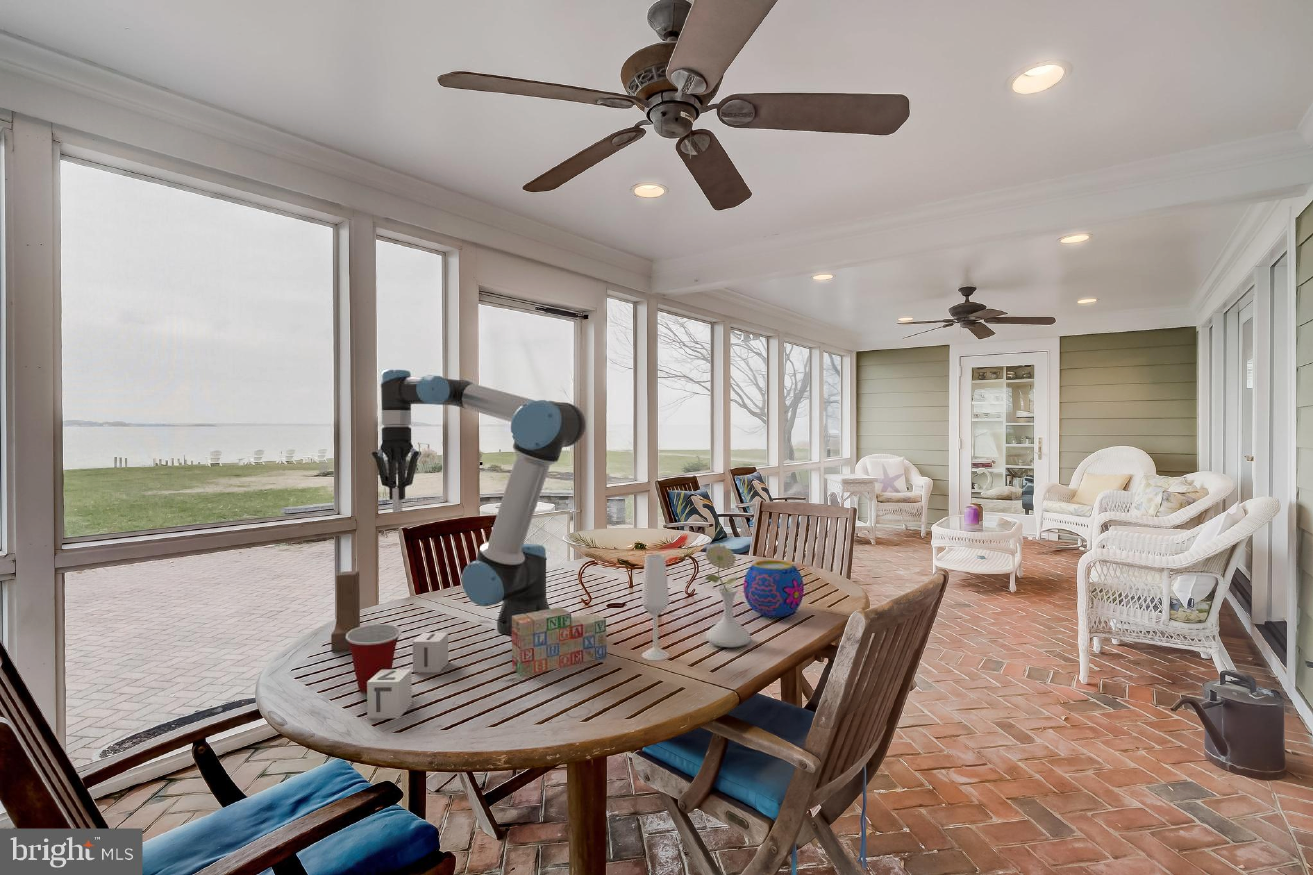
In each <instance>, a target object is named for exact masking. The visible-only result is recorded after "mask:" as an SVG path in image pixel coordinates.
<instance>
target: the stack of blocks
mask: <svg viewBox="0 0 1313 875" xmlns="http://www.w3.org/2000/svg"><path fill="white" fill-rule="evenodd" d="M510 636H511V653H512V654H511V655H512V658H511V660H512V661H511V662H512V663H511V664H512V665H511V666H512V669H513V670H514V671H515V672H516V673H517V674H518V675H519V676H520V677H525V676H529V675H534V674H538V673H543V672H544V673H545V672H549V671H553V670H557V669H560V668H565V667H569V666H574V665H577V664H581V663H586V662H590V661H594V660H595V661H596V660H600V659H604V658H607V620H606V618H605V617H602V616H600V615H599V614H597V613H594V612H593V613H588V614H583V615H578V616H572V613H571V612H570V611H568V610H566V609H564V608H562V607H561V606H560V607H554V608H550V609H547V610H541V611H537V612H531V613H526V614H519V615H514V616H512V629H511V635H510Z"/></svg>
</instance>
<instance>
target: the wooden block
mask: <svg viewBox="0 0 1313 875" xmlns="http://www.w3.org/2000/svg"><path fill="white" fill-rule="evenodd" d="M335 581H336V582H335V583H336V584H335V585H336V586H335V587H336V593H335V594H336V619H335V620H336V622H335V625H334V629H333V631H332V633H331V636H330V640H331V641H330V642H331V643H330V645H331V648H330V650H331V652H342V651H343V652H345V651H350V646H349V643H348V641H347V640H346V634H347V633H348V632H349V631H351V630H353V629H355V628H358V627H361V609H360V608H361V607H360V605H361V603H360V601H361V600H360V599H361V598H360V571H359V570H349V571H347V570H346V571H340V573H338V574H336V579H335Z"/></svg>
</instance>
